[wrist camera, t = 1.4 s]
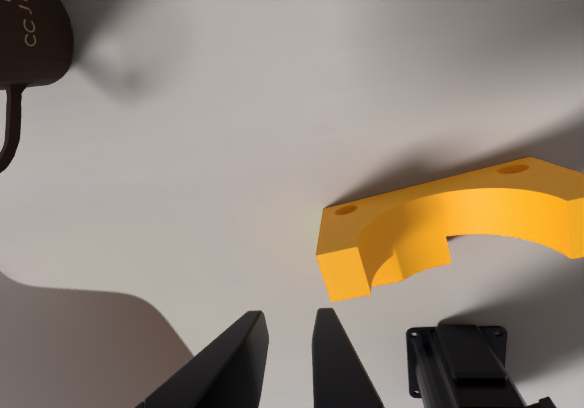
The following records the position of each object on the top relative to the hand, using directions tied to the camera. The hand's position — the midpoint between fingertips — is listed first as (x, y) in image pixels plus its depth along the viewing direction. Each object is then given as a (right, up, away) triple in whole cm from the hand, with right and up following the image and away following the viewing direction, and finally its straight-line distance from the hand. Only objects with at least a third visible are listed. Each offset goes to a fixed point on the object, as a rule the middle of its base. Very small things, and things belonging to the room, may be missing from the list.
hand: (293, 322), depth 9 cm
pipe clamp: (+8, +3, +11) cm, 14 cm away
